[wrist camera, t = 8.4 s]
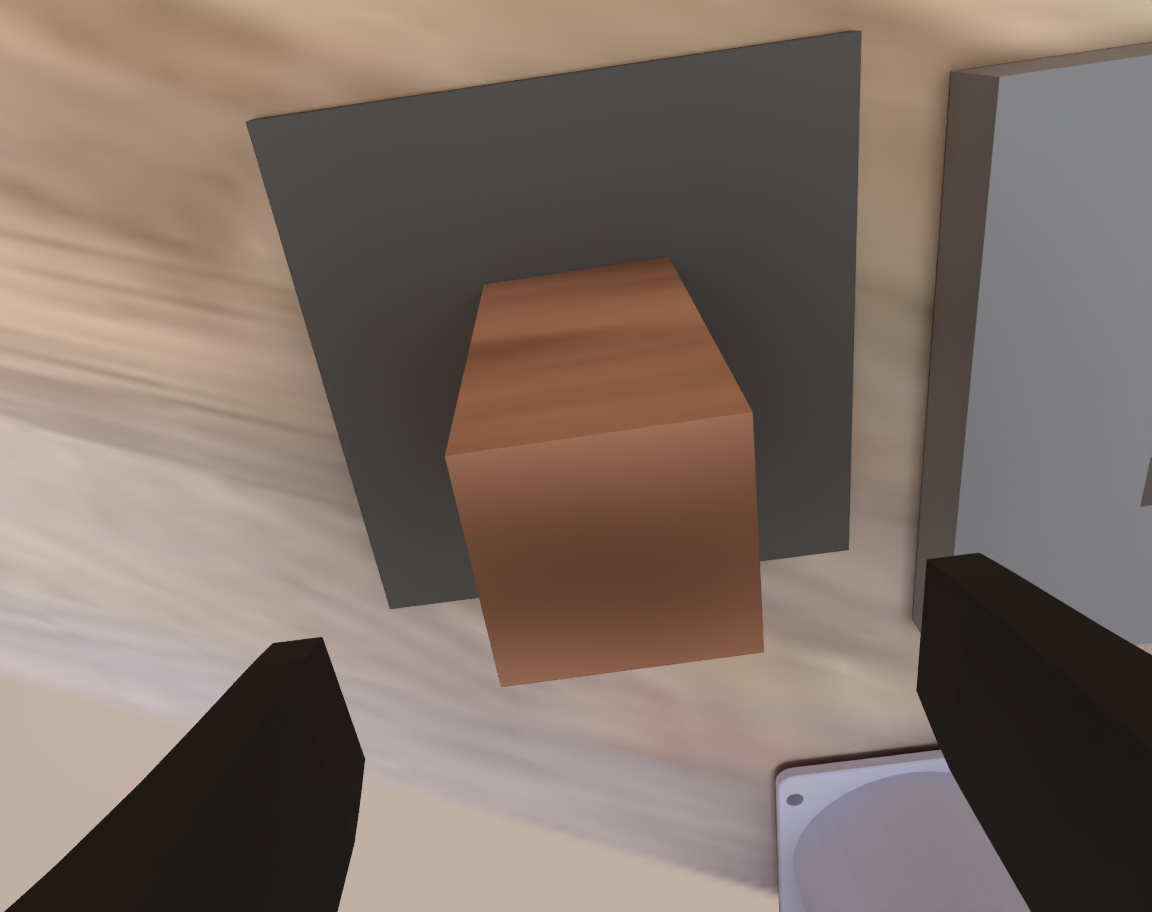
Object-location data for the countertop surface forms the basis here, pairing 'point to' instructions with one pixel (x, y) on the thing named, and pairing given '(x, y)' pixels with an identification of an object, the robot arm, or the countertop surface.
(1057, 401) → the holder
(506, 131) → the mat
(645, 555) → the block
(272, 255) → the countertop surface
